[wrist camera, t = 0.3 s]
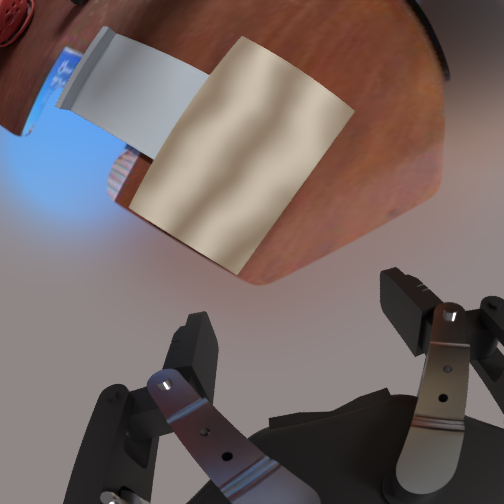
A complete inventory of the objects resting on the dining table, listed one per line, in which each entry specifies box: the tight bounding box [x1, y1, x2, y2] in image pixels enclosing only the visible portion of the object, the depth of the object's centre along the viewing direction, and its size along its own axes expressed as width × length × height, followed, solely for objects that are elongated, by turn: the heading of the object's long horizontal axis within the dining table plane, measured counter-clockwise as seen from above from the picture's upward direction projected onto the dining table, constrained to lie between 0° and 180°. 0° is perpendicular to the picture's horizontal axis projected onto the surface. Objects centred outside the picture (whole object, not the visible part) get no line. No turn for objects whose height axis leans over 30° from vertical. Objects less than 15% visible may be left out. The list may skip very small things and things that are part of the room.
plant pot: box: [0, 0, 35, 47], centre depth 18 cm, size 13×13×12 cm
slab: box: [55, 26, 210, 159], centre depth 31 cm, size 20×14×4 cm
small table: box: [129, 36, 355, 275], centre depth 31 cm, size 14×21×12 cm, turn 146°
